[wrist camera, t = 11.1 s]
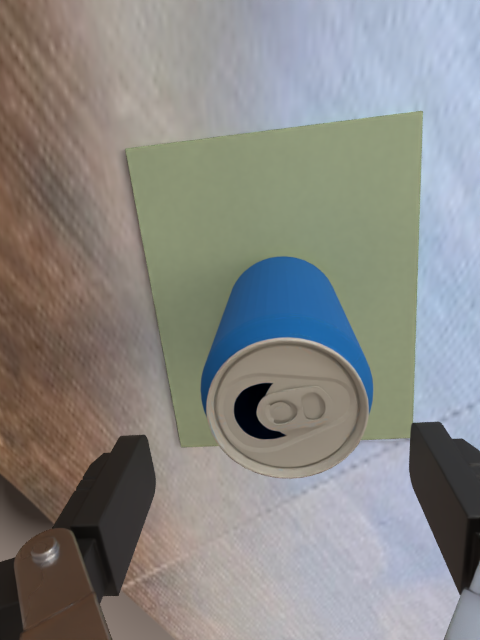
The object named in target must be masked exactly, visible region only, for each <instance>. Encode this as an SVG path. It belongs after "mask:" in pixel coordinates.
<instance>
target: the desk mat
mask: <svg viewBox="0 0 480 640" xmlns="http://www.w3.org/2000/svg"><path fill="white" fill-rule="evenodd" d="M422 121H423V111H417V112H409V113H401V114H393V115H386V116H378V117H370V118H362V119H354V120H346V121H339V122H331V123H323V124H315V125H307V126H299V127H292V128H284V129H276V130H268V131H260V132H253V133H245V134H237V135H229V136H221V137H213V138H206V139H198V140H190V141H182V142H174V143H167V144H159V145H151V146H143V147H135V148H127V149H125V151H126V157H127V162H128V167H129V173H130V178H131V183H132V188H133V194H134V199H135V204H136V210H137V215H138V220H139V226H140V231H141V236H142V242H143V247H144V252H145V258H146V263H147V268H148V274H149V279H150V284H151V290H152V295H153V300H154V305H155V311H156V316H157V321H158V327H159V332H160V337H161V343H162V348H163V353H164V359H165V364H166V369H167V375H168V380H169V385H170V391H171V396H172V401H173V407H174V412H175V417H176V422H177V428H178V433H179V438H180V444H181V447H206V446H219V445H218V444H217V442H216V441H215V439H214V437H213V435H212V433H211V430H210V428H209V425H208V421H207V417H206V414H205V412H204V409H203V405H202V400H201V391H200V388H201V377H202V372H203V368H204V366H205V363H206V360H207V357H208V355H209V352H210V349H211V346H212V344H213V341H214V338H215V335H216V332H217V330H218V327H219V324H220V321H221V319H222V316H223V313H224V310H225V308H226V305H227V302H228V299H229V296H230V294H231V291H232V288H233V286H234V284H235V282H236V281H237V280H238V278H239V277H240V276H241V275H242V274H243V272H244V271H246V270H247V269H248V268H249V267H251V266H252V265H254V264H255V263H257V262H260V261H262V260H265V259H268V258H272V257H280V256H287V257H294V258H299V259H302V260H304V261H307V262H309V263H311V264H313V265H314V266H316V267H317V268H318V269H319V270H321V271H322V272H323V273H324V274H325V276H326V277H327V278H328V279H329V281H330V283H331V284H332V286H333V288H334V291H335V293H336V295H337V297H338V299H339V301H340V304H341V306H342V308H343V310H344V312H345V314H346V317H347V319H348V321H349V323H350V325H351V327H352V329H353V332H354V334H355V336H356V338H357V340H358V342H359V345H360V347H361V349H362V351H363V353H364V355H365V358H366V360H367V362H368V365H369V367H370V370H371V374H372V378H373V401H372V406H371V410H370V413H369V416H368V422H367V427H366V429H365V432H364V435H363V437H362V438H361V440H374V439H398V438H410V431H411V425H412V423H413V402H414V370H415V339H416V308H417V277H418V246H419V214H420V183H421V152H422Z"/></svg>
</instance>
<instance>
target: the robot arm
mask: <svg viewBox="0 0 480 640" xmlns="http://www.w3.org/2000/svg"><path fill="white" fill-rule="evenodd" d="M409 472H410V479H411V483H412V486H413V489H414V491H415V494H416V496H417V498H418V501H419V503H420V505H421V507H422V510H423V512H424V514H425V517H426V519H427V521H428V523H429V526H430V528H431V530H432V532H433V535H434V537H435V539H436V542H437V544H438V546H439V548H440V551H441V553H442V555H443V558H444V560H445V562H446V564H447V567H448V569H449V571H450V574H451V576H452V578H453V580H454V583H455V585H456V587H457V589H458V592H459V594H460V595H461V596H460V598H459V601H458V604H457V606H456V609H455V611H454V614H453V617H452V619H451V622H450V624H449V627H448V630H447V632H446V635H445V637H444V640H480V451H479V450H478V449H476V448H475V447H473V446H472V445H471V444H469V443H468V442H466V441H465V440H464V439H452V438H451V437H450V435H449V434H448V432H447V431H446V429H445V428H444V426H443V425H442V423H440V422H422V423H412V425H411V431H410V456H409ZM155 487H156V478H155V471H154V467H153V462H152V457H151V453H150V448H149V443H148V439H147V437H146V436H145V435H130V436H120V437H119V439H118V440H117V442H116V444H115V446H114V448H113V449H112V451H111V453H103V454H102V455H101V456H100V457H99V458H98V459H96V460H95V461H94V462H93V463H92V464H91V465H90V466H89V468H88V470H87V471H86V473H85V475H84V476H83V480H81V481H80V483H79V484H78V486H77V488H76V491H74V493H73V494H72V496H71V498H70V499H69V501H68V503H67V504H66V506H65V508H64V509H63V511H62V513H61V514H60V516H59V518H58V519H57V521H56V522H55V524H54V526H53V527H52V529H49V530H46V531H44V532H42V533H39V534H38V535H36V536H34V537H33V538H31V539H30V540H29V541H28V542H26V543H25V545H23V546H22V548H21V549H20V550H19V552H18V553H17V555H16V557H15V558H12V559H9V560H5V561H2V562H0V640H112V637H111V635H110V632H109V629H108V626H107V623H106V620H105V617H104V615H103V612H102V609H101V606H100V602H101V600H102V597H103V596H119V593H120V590H121V587H122V584H123V582H124V579H125V576H126V573H127V570H128V567H129V565H130V562H131V559H132V556H133V553H134V551H135V548H136V545H137V542H138V539H139V537H140V534H141V531H142V528H143V525H144V523H145V520H146V517H147V514H148V511H149V508H150V506H151V503H152V500H153V497H154V494H155Z"/></svg>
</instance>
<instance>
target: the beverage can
mask: <svg viewBox="0 0 480 640" xmlns="http://www.w3.org/2000/svg"><path fill="white" fill-rule="evenodd" d="M200 391H201V400H202V405H203V409H204V412H205V414H206V417H207V421H208V425H209V428H210V430H211V433H212V435H213V437H214V439H215V441H216V442H217V444H218V445H219V446H220V448H221V449H222V450H223V451H224V452H225V453H226V454H227V455H228V456H229V457H230V458H231V459H232V460H234V461H235V462H236V463H238V464H239V465H241V466H243V467H244V468H246V469H248V470H251V471H253V472H255V473H258V474H261V475H265V476H269V477H275V478H302V477H307V476H312V475H315V474H318V473H322V472H324V471H326V470H328V469H330V468H332V467H334V466H335V465H337V464H339V463H340V462H341V461H343V460H344V459H345V458H346V457H347V456H348V455H349V454H350V453H351V452H352V451H353V450H354V449H355V448H356V446H357V445H358V444H359V442H360V440H361V438H362V437H363V435H364V432H365V429H366V427H367V422H368V416H369V413H370V410H371V406H372V401H373V378H372V374H371V370H370V367H369V365H368V362H367V360H366V358H365V355H364V353H363V351H362V349H361V347H360V345H359V342H358V340H357V338H356V336H355V334H354V332H353V329H352V327H351V325H350V323H349V321H348V319H347V317H346V314H345V312H344V310H343V308H342V306H341V304H340V301H339V299H338V297H337V295H336V293H335V291H334V288H333V286H332V284H331V283H330V281H329V279H328V278H327V277H326V276H325V274H324V273H323V272H322V271H321V270H319V269H318V268H317V267H316V266H314V265H313V264H311V263H309V262H307V261H304V260H302V259H299V258H294V257H287V256H280V257H272V258H268V259H265V260H262V261H260V262H257V263H255V264H254V265H252V266H251V267H249V268H248V269H247V270H246V271H244V272H243V274H242V275H241V276H240V277H239V278H238V280H237V281H236V282H235V284H234V286H233V288H232V291H231V294H230V296H229V299H228V302H227V305H226V308H225V310H224V313H223V316H222V319H221V321H220V324H219V327H218V330H217V332H216V335H215V338H214V341H213V344H212V346H211V349H210V352H209V355H208V357H207V360H206V363H205V366H204V368H203V372H202V377H201V388H200Z"/></svg>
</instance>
